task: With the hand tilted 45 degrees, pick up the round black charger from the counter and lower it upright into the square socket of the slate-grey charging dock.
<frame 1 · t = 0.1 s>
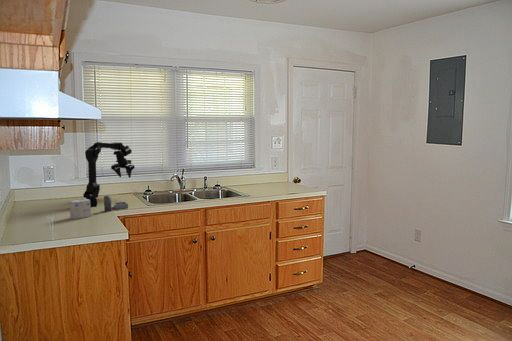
hand: (125, 177, 312), 15 cm above the worktop, tool pointing down, fingers open, 9 cm apart
light bulb box: (80, 217, 253), on the worktop
charger: (108, 210, 268), on the worktop
charging dock: (120, 207, 278), on the worktop
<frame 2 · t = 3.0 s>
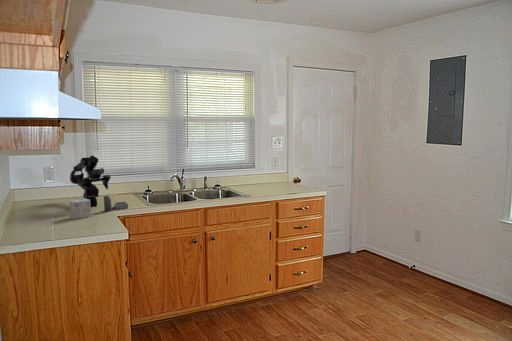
hand: (101, 189, 271), 13 cm above the worktop, tool tilted 45°, fingers open, 9 cm apart
nothing on the worktop moved.
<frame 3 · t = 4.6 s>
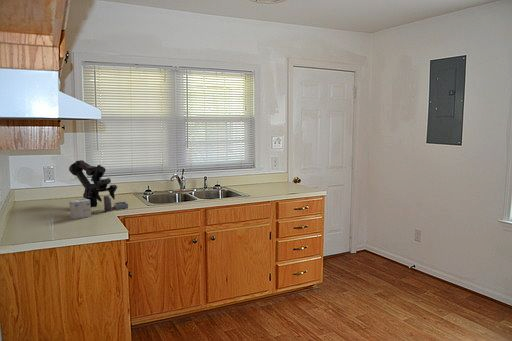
hand: (107, 200, 267), 7 cm above the worktop, tool tilted 45°, fingers open, 9 cm apart
nothing on the worktop moved.
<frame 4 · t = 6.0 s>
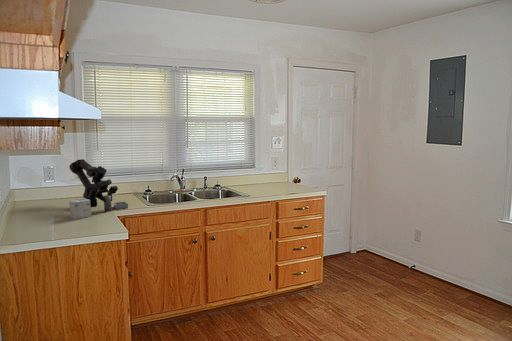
hand: (108, 201, 266), 7 cm above the worktop, tool tilted 45°, fingers closed on charger, 4 cm apart
charger: (108, 210, 268), on the worktop, touching gripper
everything else where it was.
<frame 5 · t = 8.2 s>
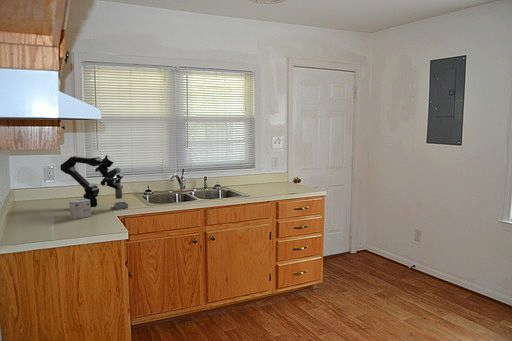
hand: (120, 188, 274), 14 cm above the worktop, tool tilted 45°, fingers closed on charger, 4 cm apart
charger: (119, 198, 275), point 7 cm above the worktop, touching gripper
everything else where it was.
when the fingers open (8 cm above the worktop, at t = 10.4 s): charger drops 1 cm, resting in charging dock.
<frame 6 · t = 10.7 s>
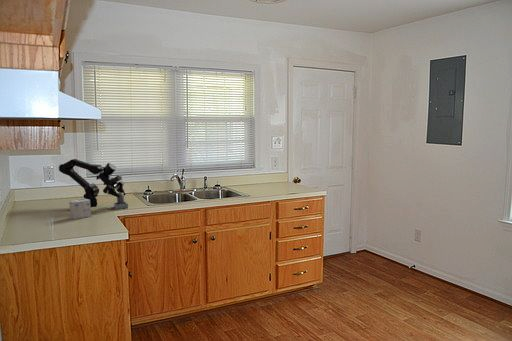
hand: (122, 196, 277), 8 cm above the worktop, tool tilted 45°, fingers open, 7 cm apart
charger: (121, 207, 278), resting in charging dock
everything else where it was.
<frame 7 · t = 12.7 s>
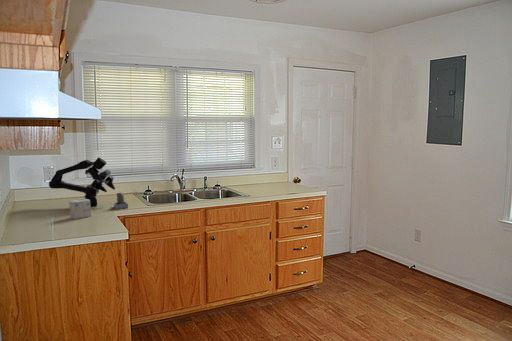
hand: (110, 190, 278), 12 cm above the worktop, tool tilted 45°, fingers open, 9 cm apart
nothing on the worktop moved.
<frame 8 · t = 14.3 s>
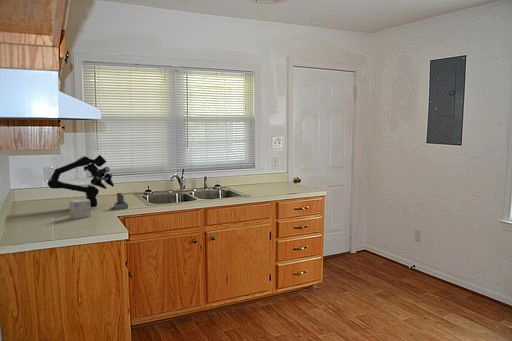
hand: (109, 187, 279), 14 cm above the worktop, tool tilted 45°, fingers open, 9 cm apart
nothing on the worktop moved.
at the end: charger 0.1 cm from the target spot, resting in charging dock; charger tilted 0°; the gripper is holding nothing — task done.
